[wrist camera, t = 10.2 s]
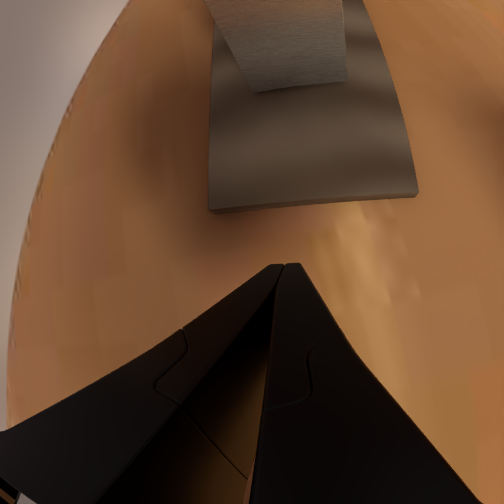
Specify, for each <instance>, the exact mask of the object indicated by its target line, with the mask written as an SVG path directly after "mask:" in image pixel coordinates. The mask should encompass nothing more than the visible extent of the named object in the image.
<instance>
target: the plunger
mask: <svg viewBox="0 0 504 504" xmlns="http://www.w3.org/2000/svg"><path fill="white" fill-rule="evenodd" d="M204 2H205V4H206V6H207V7H208V9H209V11H210V13H211V15H212V16H213V18H214V20H215V22H216V24H217V25H218V27H219V29H220V31H221V33H222V35H223V36H224V38H225V40H226V42H227V44H228V46H229V48H230V49H231V51H232V53H233V55H234V57H235V59H236V61H237V63H238V65H239V67H240V69H241V71H242V73H243V75H244V77H245V79H246V80H247V82H248V84H249V86H250V88H251V90H252V92H253V93H256V92H261V91H268V90H274V89H281V88H288V87H296V86H304V85H312V84H322V83H333V82H346V81H347V68H346V50H345V35H344V23H343V12H342V2H341V0H204Z"/></svg>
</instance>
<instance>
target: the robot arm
mask: <svg viewBox="0 0 504 504" xmlns="http://www.w3.org/2000/svg"><path fill="white" fill-rule="evenodd" d="M255 454H256V457H255ZM254 457H255V464H254V472H253V479H252V486H251V493H250V499H249V504H483V503H482V502H480V501H479V500H478V499H477V498H476V497H475V495H474V494H473V493H472V492H471V490H470V489H469V488H468V487H467V486H466V484H465V483H464V482H463V481H462V479H461V478H460V477H459V476H458V475H457V473H456V472H455V471H454V470H453V469H452V467H451V466H450V465H449V464H448V463H447V461H446V460H445V459H444V458H443V456H442V455H441V454H440V453H439V452H438V450H437V449H436V448H435V447H434V446H433V444H432V443H431V442H430V441H429V440H428V439H427V437H426V436H425V435H424V434H423V433H422V431H421V430H420V429H419V428H418V427H417V425H416V424H415V423H414V422H413V421H412V419H411V418H410V417H409V416H408V415H407V413H406V412H405V411H404V410H403V409H402V408H401V406H400V405H399V404H398V403H397V402H396V400H395V399H394V398H393V397H392V396H391V395H390V393H389V392H388V391H387V390H386V389H385V387H384V386H383V385H382V384H381V383H380V382H379V380H378V379H377V378H376V377H375V376H374V375H373V373H372V372H371V371H370V370H369V369H368V367H367V366H366V365H365V364H364V362H363V361H362V360H361V359H360V357H359V356H358V355H357V353H356V352H355V351H354V349H353V347H352V346H351V344H350V343H349V341H348V340H347V338H346V337H345V335H344V333H343V332H342V330H341V329H340V328H339V326H338V324H337V322H336V321H335V319H334V317H333V316H332V314H331V312H330V311H329V309H328V307H327V306H326V304H325V302H324V301H323V299H322V297H321V296H320V294H319V293H318V291H317V289H316V288H315V286H314V284H313V283H312V281H311V279H310V278H309V276H308V275H307V273H306V271H305V270H304V268H303V267H302V265H301V264H300V263H287V264H285V265H284V264H270V265H268V266H267V267H265V268H264V269H263V270H261V271H260V272H259V273H257V274H256V275H255V276H253V277H252V278H251V279H249V280H248V281H246V282H245V283H244V284H242V285H241V286H240V287H238V288H237V289H235V290H234V291H233V292H231V293H230V294H229V295H227V296H226V297H224V298H223V299H222V300H220V301H219V302H218V303H216V304H215V305H213V306H212V307H211V308H209V309H208V310H207V311H205V312H204V313H202V314H201V315H200V316H198V317H197V318H195V319H194V320H193V321H191V322H190V323H188V324H187V325H186V326H184V327H183V330H182V329H179V330H178V331H176V332H175V333H174V334H172V335H171V336H169V337H168V338H166V339H165V340H163V341H162V342H160V343H159V344H157V345H156V346H154V347H153V348H152V349H150V350H148V351H147V352H145V353H143V354H142V355H140V356H138V357H137V358H135V359H133V360H132V361H130V362H128V363H127V364H125V365H123V366H121V367H120V368H118V369H116V370H115V371H113V372H111V373H109V374H108V375H106V376H104V377H102V378H101V379H99V380H97V381H95V382H94V383H92V384H90V385H88V386H86V387H85V388H83V389H81V390H79V391H78V392H76V393H74V394H72V395H70V396H69V397H67V398H65V399H63V400H61V401H60V402H58V403H56V404H54V405H52V406H51V407H49V408H47V409H45V410H43V411H41V412H40V413H38V414H36V415H34V416H32V417H30V418H28V419H27V420H25V421H23V422H21V423H19V424H17V425H15V426H13V427H12V428H10V429H7V430H5V431H1V432H0V504H243V497H244V492H245V488H246V484H247V479H248V477H249V474H250V471H251V467H252V464H253V461H254Z"/></svg>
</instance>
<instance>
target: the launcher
mask: <svg viewBox="0 0 504 504" xmlns="http://www.w3.org/2000/svg"><path fill="white" fill-rule="evenodd" d="M341 2H342V12H343V23H344V35H345V50H346V68H347V81H346V82H333V83H322V84H312V85H304V86H296V87H288V88H281V89H274V90H268V91H261V92H256V93H253V92H252V90H251V88H250V86H249V84H248V82H247V80H246V79H245V77H244V75H243V73H242V71H241V69H240V67H239V65H238V63H237V61H236V59H235V57H234V55H233V53H232V51H231V49H230V48H229V46H228V44H227V42H226V40H225V38H224V36H223V35H222V33H221V31H220V29H219V27H218V25H217V24H216V22H215V21H214V36H213V53H212V72H211V94H210V122H209V164H208V210H209V211H211V212H212V213H214V214H219V213H228V212H237V211H247V210H257V209H267V208H277V207H288V206H299V205H311V204H323V203H335V202H349V201H363V200H378V199H395V198H413V197H416V195H417V194H418V192H419V190H418V184H417V179H416V173H415V168H414V163H413V158H412V153H411V149H410V144H409V140H408V136H407V131H406V127H405V123H404V119H403V115H402V112H401V108H400V104H399V101H398V97H397V94H396V90H395V87H394V84H393V81H392V77H391V74H390V71H389V68H388V65H387V62H386V59H385V56H384V54H383V51H382V48H381V45H380V42H379V40H378V37H377V35H376V32H375V29H374V27H373V24H372V22H371V19H370V17H369V15H368V12H367V10H366V8H365V5H364V3H363V1H362V0H341Z"/></svg>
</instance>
